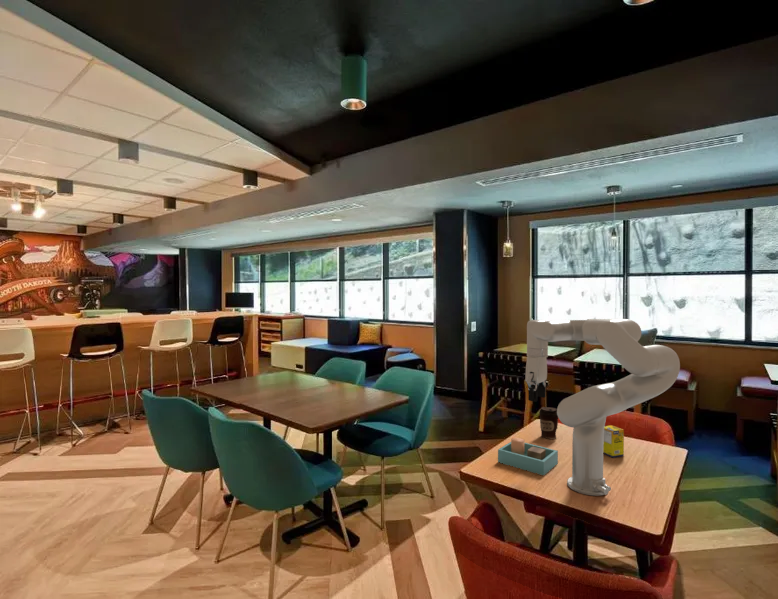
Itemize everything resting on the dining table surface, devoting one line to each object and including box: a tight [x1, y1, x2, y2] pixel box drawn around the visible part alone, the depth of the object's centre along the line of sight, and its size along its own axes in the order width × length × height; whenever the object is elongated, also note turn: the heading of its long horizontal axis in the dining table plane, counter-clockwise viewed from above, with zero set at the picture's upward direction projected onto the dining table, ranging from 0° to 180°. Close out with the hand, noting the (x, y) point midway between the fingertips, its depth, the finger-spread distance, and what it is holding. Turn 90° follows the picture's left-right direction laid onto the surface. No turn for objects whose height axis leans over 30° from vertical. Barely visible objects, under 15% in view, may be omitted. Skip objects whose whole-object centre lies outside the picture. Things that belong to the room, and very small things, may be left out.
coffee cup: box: [538, 406, 559, 440], centre depth 192 cm, size 9×8×13 cm
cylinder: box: [510, 437, 525, 455], centre depth 166 cm, size 5×5×7 cm
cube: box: [527, 447, 546, 460], centre depth 161 cm, size 5×5×5 cm
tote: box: [497, 441, 559, 476], centre depth 164 cm, size 18×14×5 cm
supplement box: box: [603, 424, 625, 459], centre depth 172 cm, size 6×6×11 cm
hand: (537, 398), depth 161 cm, fingers open, 7 cm apart
